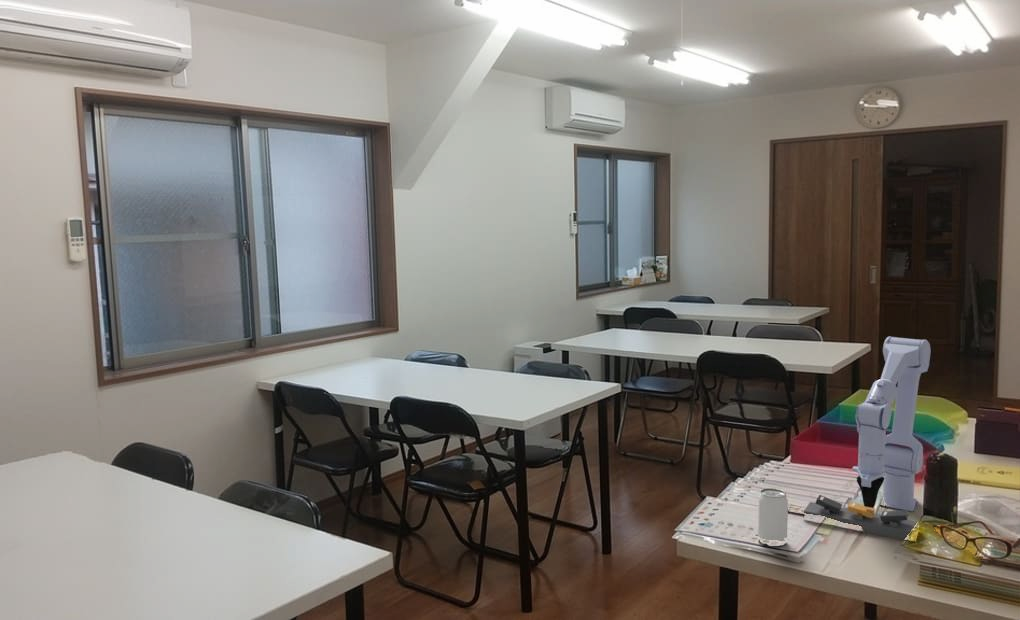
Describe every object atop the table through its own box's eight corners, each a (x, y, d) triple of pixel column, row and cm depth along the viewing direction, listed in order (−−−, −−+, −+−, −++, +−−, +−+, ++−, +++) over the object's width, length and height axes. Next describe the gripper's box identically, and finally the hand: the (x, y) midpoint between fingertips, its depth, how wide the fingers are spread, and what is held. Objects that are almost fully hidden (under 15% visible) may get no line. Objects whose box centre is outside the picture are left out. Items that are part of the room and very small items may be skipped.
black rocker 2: (884, 518, 182) (882, 511, 182) (909, 517, 179) (907, 510, 179) (882, 523, 179) (880, 516, 179) (907, 522, 176) (905, 515, 176)
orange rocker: (849, 508, 186) (850, 501, 186) (874, 515, 183) (875, 508, 183) (846, 513, 183) (848, 506, 183) (871, 520, 180) (873, 513, 180)
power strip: (789, 507, 196) (790, 494, 196) (919, 531, 179) (920, 517, 179) (783, 516, 190) (783, 503, 190) (916, 542, 174) (917, 528, 173)
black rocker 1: (817, 500, 190) (819, 494, 190) (840, 510, 187) (842, 504, 187) (814, 505, 187) (816, 499, 187) (837, 515, 184) (839, 508, 184)
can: (788, 548, 172) (790, 498, 170) (759, 546, 173) (760, 497, 172) (784, 536, 178) (785, 488, 177) (756, 535, 180) (757, 487, 178)
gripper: (858, 441, 188) (856, 493, 190) (848, 458, 176) (846, 513, 178) (889, 446, 184) (887, 498, 186) (881, 462, 172) (878, 519, 174)
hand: (869, 506), depth 182 cm, fingers closed
